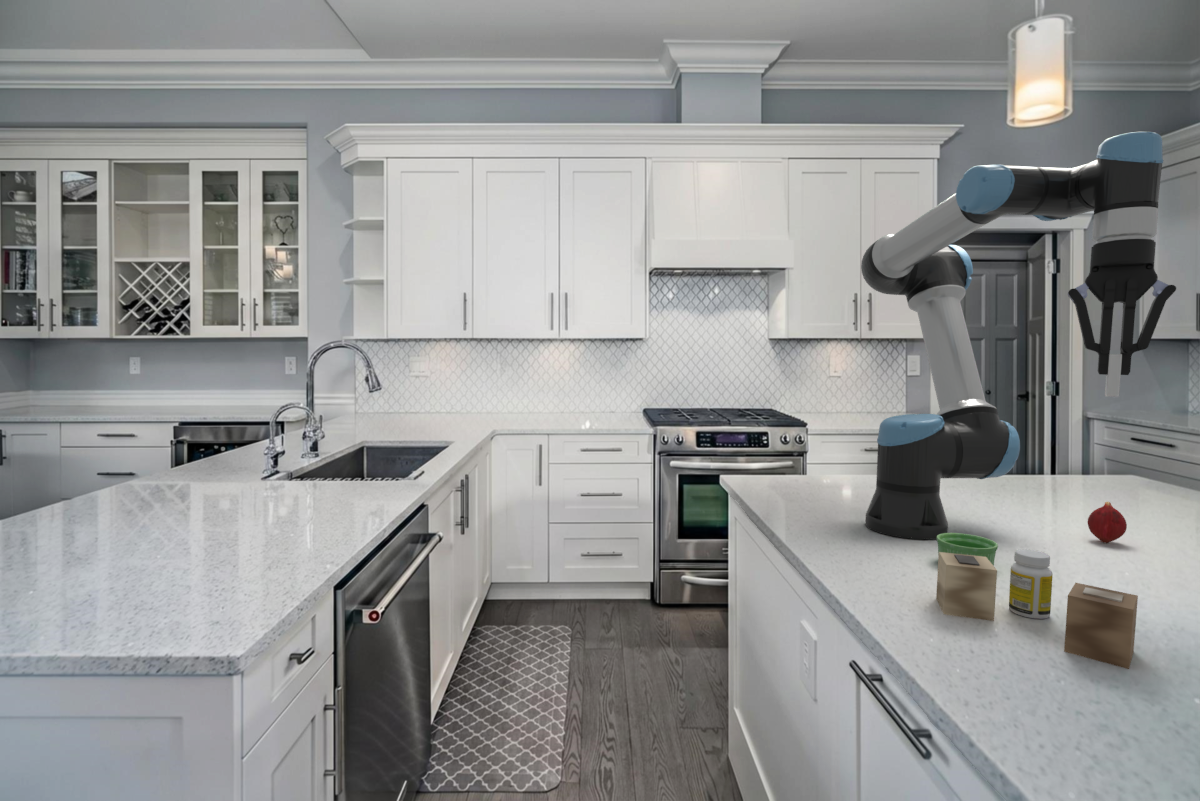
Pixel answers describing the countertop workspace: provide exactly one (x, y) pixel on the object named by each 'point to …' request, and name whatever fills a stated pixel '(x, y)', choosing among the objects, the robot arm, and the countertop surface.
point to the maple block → (966, 586)
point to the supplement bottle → (1030, 584)
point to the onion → (1107, 523)
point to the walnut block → (1101, 624)
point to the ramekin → (967, 545)
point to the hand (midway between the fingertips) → (1111, 396)
